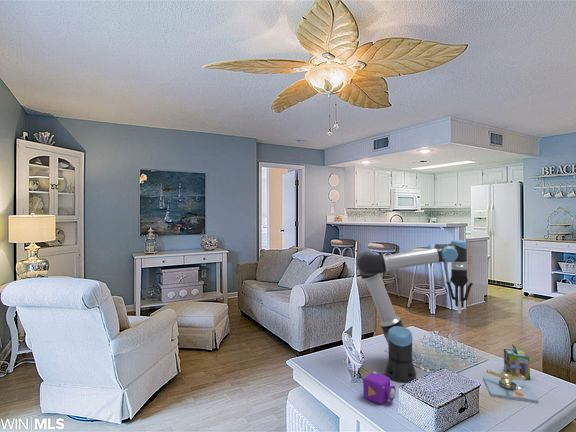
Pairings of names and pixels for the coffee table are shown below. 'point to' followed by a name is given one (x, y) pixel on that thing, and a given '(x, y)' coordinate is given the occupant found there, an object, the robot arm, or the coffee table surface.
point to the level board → (509, 390)
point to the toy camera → (378, 388)
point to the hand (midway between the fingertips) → (459, 312)
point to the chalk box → (516, 362)
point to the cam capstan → (508, 380)
